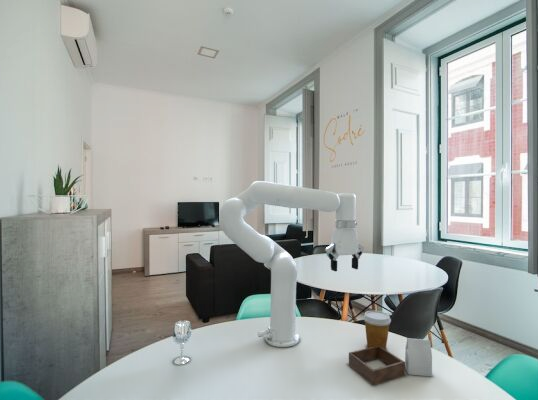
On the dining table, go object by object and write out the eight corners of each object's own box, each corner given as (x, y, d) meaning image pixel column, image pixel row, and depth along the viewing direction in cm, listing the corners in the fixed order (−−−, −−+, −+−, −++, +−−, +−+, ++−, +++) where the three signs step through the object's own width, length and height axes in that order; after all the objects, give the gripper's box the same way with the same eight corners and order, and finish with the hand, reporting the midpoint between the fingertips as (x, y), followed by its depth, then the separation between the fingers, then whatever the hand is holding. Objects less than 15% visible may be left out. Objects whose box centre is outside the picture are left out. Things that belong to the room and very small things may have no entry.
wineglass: (194, 358, 97) (195, 321, 97) (181, 367, 91) (182, 328, 92) (181, 354, 99) (182, 318, 99) (167, 362, 94) (168, 324, 94)
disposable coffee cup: (387, 343, 110) (387, 310, 110) (393, 356, 101) (394, 320, 101) (361, 341, 111) (361, 309, 111) (365, 354, 102) (365, 319, 102)
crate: (373, 385, 84) (373, 371, 84) (348, 365, 95) (348, 352, 95) (405, 375, 90) (405, 362, 90) (378, 357, 100) (378, 345, 100)
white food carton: (431, 376, 89) (432, 343, 89) (408, 374, 90) (408, 341, 90) (427, 369, 93) (428, 337, 93) (405, 367, 94) (405, 335, 94)
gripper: (357, 224, 121) (356, 266, 121) (321, 224, 114) (320, 269, 114) (369, 225, 114) (368, 270, 114) (331, 226, 107) (331, 273, 107)
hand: (344, 269), depth 114 cm, fingers open, 9 cm apart
